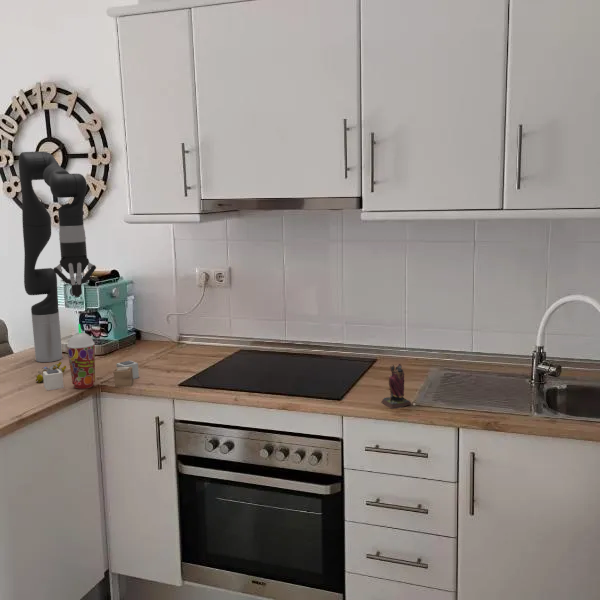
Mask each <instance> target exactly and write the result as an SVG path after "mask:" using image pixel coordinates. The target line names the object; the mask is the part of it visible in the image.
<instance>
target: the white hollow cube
mask: <svg viewBox="0 0 600 600" xmlns="http://www.w3.org/2000/svg"><path fill="white" fill-rule="evenodd" d="M63 373H64V372H61V371H60V370H59V369H56V370H49V371H44V372H43V380H44V382H43V387H44V389H45V390H46V392H47V391H53V390H59V389H60V390H61V389H64V376H63V375H64V374H63Z"/></svg>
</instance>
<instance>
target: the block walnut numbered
mask: <svg viewBox="0 0 600 600" xmlns="http://www.w3.org/2000/svg"><path fill="white" fill-rule="evenodd" d="M113 380H114V381H113V382H114V388H121V387H122V388H124V387H132V386H133V383H134V379H133V370H132V367H119V368H117V367H116V368H115V369H114V371H113Z"/></svg>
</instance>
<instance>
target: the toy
mask: <svg viewBox="0 0 600 600" xmlns="http://www.w3.org/2000/svg"><path fill="white" fill-rule="evenodd" d="M61 365H62V362H61V361H59V362H58V363H56V364H52V365H51V366H49V367H47V366H44V367H42V368H41V369H39V370H38V372H37V373H38V374H37V375H36V376H35V378H36V379H35V382H37V383H39V384H40V383H44V380H43V372H44V371H49V370H56V369H59V370H60V371H61V372H62V373H64V372H65V370H66V368H67V366H66V365H64V366H63V367H60V366H61Z"/></svg>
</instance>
